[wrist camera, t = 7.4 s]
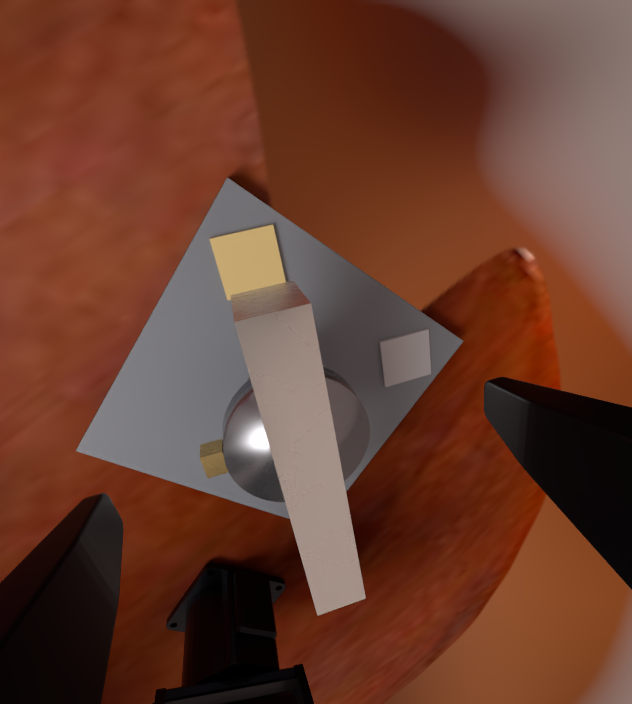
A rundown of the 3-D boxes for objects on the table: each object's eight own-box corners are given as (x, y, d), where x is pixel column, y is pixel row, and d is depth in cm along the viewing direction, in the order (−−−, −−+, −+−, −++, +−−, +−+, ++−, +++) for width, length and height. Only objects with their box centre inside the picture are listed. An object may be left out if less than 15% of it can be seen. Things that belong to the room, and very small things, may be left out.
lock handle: (373, 510, 23) (408, 583, 19) (243, 553, 22) (250, 640, 18) (337, 259, 16) (378, 287, 12) (148, 303, 15) (124, 348, 11)
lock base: (315, 519, 28) (329, 566, 24) (80, 441, 21) (55, 491, 18) (456, 336, 24) (495, 361, 21) (226, 177, 18) (230, 177, 15)
